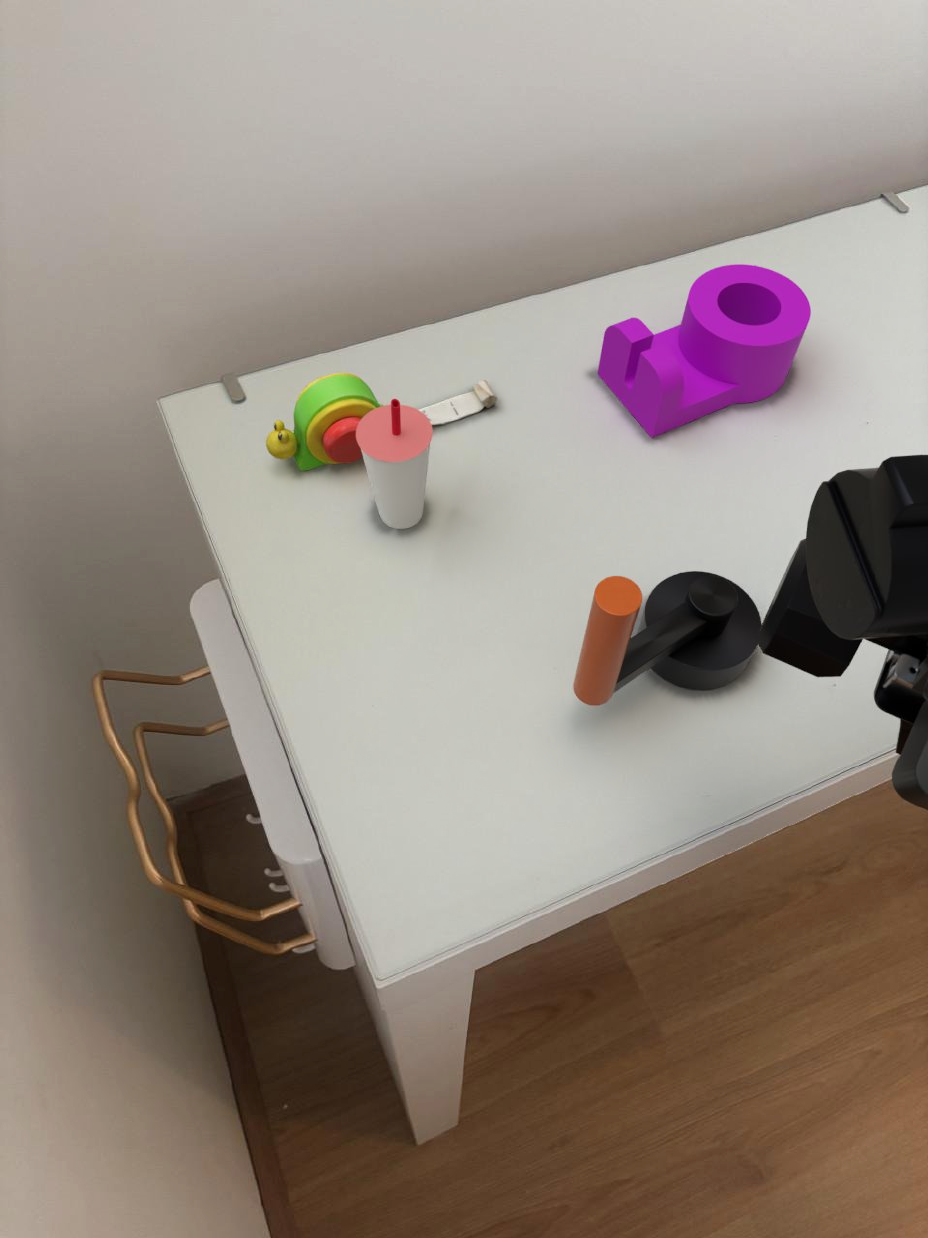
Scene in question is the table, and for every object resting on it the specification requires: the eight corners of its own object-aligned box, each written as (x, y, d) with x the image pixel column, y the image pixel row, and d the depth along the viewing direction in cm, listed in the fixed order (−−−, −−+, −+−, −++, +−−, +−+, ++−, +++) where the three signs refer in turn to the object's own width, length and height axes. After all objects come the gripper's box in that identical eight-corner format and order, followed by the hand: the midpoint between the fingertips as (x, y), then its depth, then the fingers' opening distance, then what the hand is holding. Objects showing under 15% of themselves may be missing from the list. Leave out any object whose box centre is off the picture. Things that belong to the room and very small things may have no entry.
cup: (446, 526, 71) (444, 415, 61) (381, 548, 70) (367, 439, 59) (420, 477, 73) (413, 362, 63) (357, 497, 72) (340, 385, 62)
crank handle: (704, 589, 64) (750, 480, 54) (737, 621, 63) (790, 515, 53) (560, 685, 60) (581, 586, 50) (592, 721, 59) (619, 627, 49)
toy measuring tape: (260, 441, 75) (244, 381, 70) (477, 374, 79) (478, 313, 74) (284, 497, 72) (269, 439, 67) (508, 424, 76) (511, 364, 71)
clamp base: (754, 606, 67) (766, 583, 64) (744, 701, 63) (757, 681, 60) (646, 584, 68) (653, 560, 66) (629, 676, 64) (636, 655, 61)
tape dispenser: (741, 310, 84) (760, 251, 78) (810, 378, 79) (836, 321, 74) (592, 368, 80) (602, 309, 74) (656, 443, 75) (672, 387, 70)
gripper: (767, 640, 32) (677, 796, 46) (1354, 897, 28) (1064, 987, 41) (856, 434, 38) (752, 628, 51) (1365, 622, 33) (1104, 782, 46)
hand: (904, 748), depth 47 cm, fingers closed
